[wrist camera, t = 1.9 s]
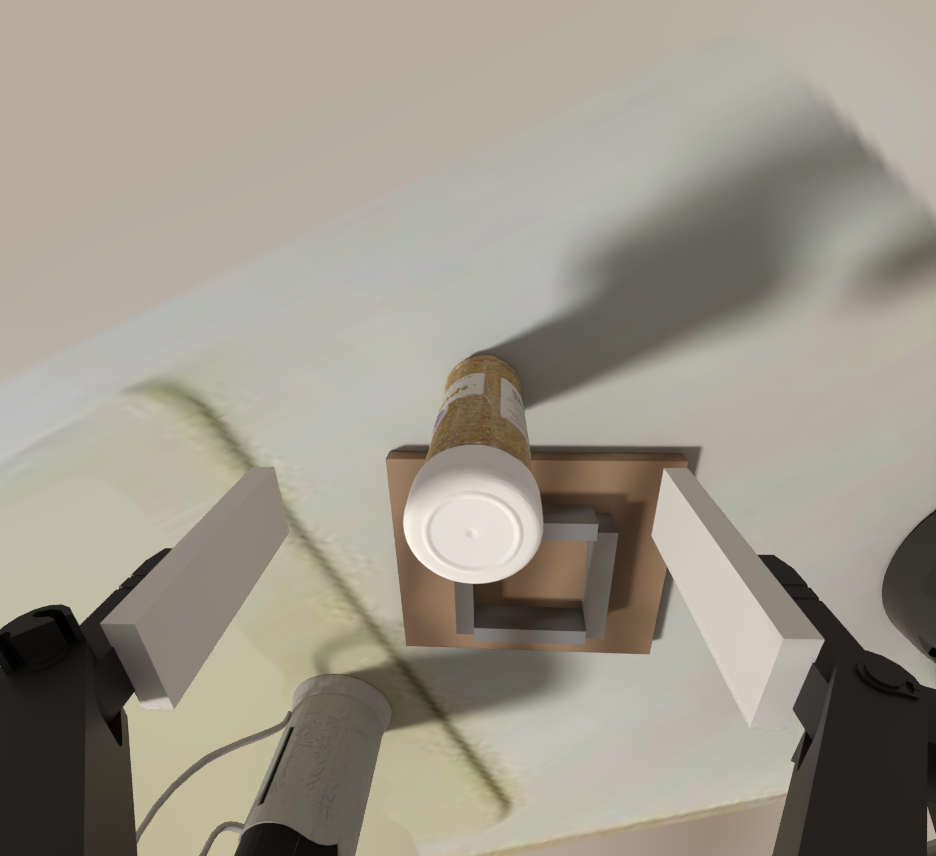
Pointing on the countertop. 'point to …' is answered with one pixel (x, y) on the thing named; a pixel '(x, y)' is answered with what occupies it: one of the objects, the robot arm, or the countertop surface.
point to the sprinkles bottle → (476, 480)
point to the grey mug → (310, 773)
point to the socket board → (551, 563)
